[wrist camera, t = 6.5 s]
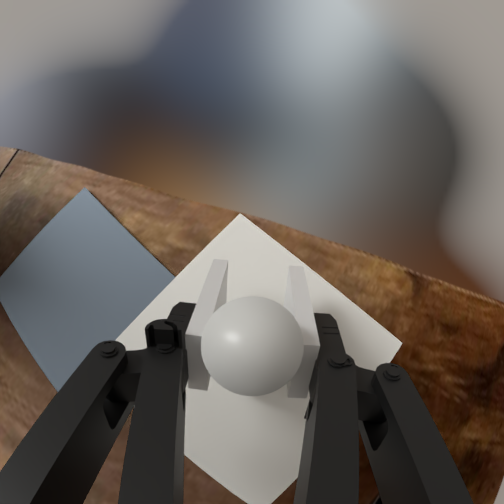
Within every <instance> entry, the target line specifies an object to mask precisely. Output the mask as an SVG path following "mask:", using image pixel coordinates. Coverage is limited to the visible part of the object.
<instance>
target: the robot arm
mask: <svg viewBox="0 0 504 504" xmlns="http://www.w3.org/2000/svg"><path fill="white" fill-rule="evenodd" d="M227 277H228V260H220V259H214V260H213V262H212V265H211V267H210V270H209V272H208V275H207V278H206V280H205V283H204V285H203V288H202V291H201V293H200V296H199V298H198V301H197V304H196V303H187V302H179V303H178V304H176V305H175V306H174V307H173V308H172V310H171V312H170V314H169V316H168V318H167V319H158V320H154V321H152V322H150V323H149V324H147V325H146V327H145V336H146V343H147V348H145V349H141V350H129V351H126V348H125V346H124V345H123V344H122V343H120V342H118V341H113V340H108V341H103V342H100V343H98V344H97V345H96V346H95V347H94V348H93V349H92V350H91V351H90V352H89V354H88V355H87V356H86V357H85V359H84V360H83V361H82V362H81V364H80V365H79V366H78V367H77V369H76V370H75V371H74V372H73V374H72V375H71V376H70V377H69V379H68V380H67V381H66V383H65V384H64V385H63V386H62V388H61V389H60V390H59V392H58V393H57V394H56V395H55V397H54V398H53V399H52V401H51V402H50V403H49V405H48V406H47V407H46V409H45V410H44V411H43V413H42V414H41V415H40V417H39V418H38V419H37V421H36V422H35V423H34V425H33V426H32V428H31V429H30V430H29V432H28V433H27V434H26V436H25V437H24V439H23V440H22V441H21V443H20V444H19V446H18V447H17V448H16V450H15V451H14V453H13V454H12V456H11V457H10V458H9V460H8V461H7V463H6V464H5V466H4V467H3V469H2V470H1V472H0V504H83V502H84V500H85V498H86V496H87V494H88V492H89V491H90V489H91V487H92V485H93V483H94V481H95V479H96V477H97V475H98V473H99V471H100V469H101V467H102V465H103V463H104V461H105V459H106V457H107V456H108V454H109V452H110V450H111V448H112V446H113V444H114V442H115V440H116V438H117V437H118V435H119V433H120V431H121V429H122V427H123V425H124V423H125V422H126V420H127V418H128V416H129V414H130V412H131V410H132V408H133V407H134V409H133V414H132V419H131V424H130V430H129V435H128V441H127V447H126V453H125V459H124V465H123V472H122V478H121V485H120V493H119V500H118V504H183V479H184V437H185V411H186V385H187V382H188V388H190V389H197V390H205V391H208V386H209V381H210V377H211V375H210V374H209V372H208V370H207V369H206V367H205V364H204V362H203V358H202V353H201V339H202V334H203V331H204V328H205V326H206V323H207V322H208V320H209V318H210V317H211V316H212V315H213V313H214V312H215V311H216V310H217V309H218V308H220V307H221V306H222V305H224V304H225V303H226V300H227ZM284 307H285V308H286V309H287V310H288V311H289V312H290V313H291V314H292V315H293V316H294V318H295V319H296V321H297V322H298V324H299V326H300V329H301V332H302V335H303V341H304V351H303V357H302V361H301V364H300V366H299V368H298V370H297V372H296V374H295V375H294V376H293V378H292V379H291V380H290V381H289V382H288V383H287V397H288V398H307V395H308V391H309V394H310V399H309V403H308V406H307V410H306V413H305V416H304V419H306V422H305V430H304V438H303V445H302V452H301V459H300V466H299V473H298V479H297V485H296V491H295V497H294V503H293V504H358V498H359V431H360V434H361V437H362V440H363V443H364V446H365V449H366V452H367V455H368V458H369V462H370V465H371V468H372V471H373V474H374V477H375V481H376V484H377V487H378V490H379V494H380V497H381V500H382V504H473V501H472V499H471V497H470V495H469V492H468V490H467V488H466V486H465V484H464V481H463V479H462V477H461V475H460V473H459V471H458V469H457V467H456V465H455V462H454V460H453V458H452V456H451V454H450V452H449V450H448V448H447V446H446V444H445V442H444V440H443V438H442V436H441V434H440V432H439V430H438V429H437V427H436V425H435V423H434V421H433V419H432V417H431V415H430V413H429V411H428V410H427V408H426V406H425V404H424V402H423V400H422V398H421V397H420V395H419V393H418V391H417V389H416V388H415V386H414V384H413V382H412V380H411V379H410V377H409V375H408V373H407V372H406V371H405V370H404V368H402V367H400V366H399V365H396V364H393V363H384V364H380V365H379V366H378V367H377V368H376V371H373V370H369V369H364V368H361V367H358V366H357V365H355V362H354V360H353V358H352V357H351V356H349V355H348V354H346V352H345V348H344V345H343V341H342V338H341V335H340V331H339V329H338V324H337V321H336V320H335V319H334V317H333V316H332V315H331V314H326V313H313V308H312V304H311V299H310V294H309V290H308V285H307V281H306V276H305V272H304V267H302V266H290V265H289V268H288V276H287V284H286V291H285V298H284Z"/></svg>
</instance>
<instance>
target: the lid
mask: <svg viewBox="0 0 504 504" xmlns="http://www.w3.org/2000/svg"><path fill="white" fill-rule="evenodd" d="M214 259H220V260H228V277H227V300H226V303H225V304H224V305H222V306H221V307H220V308H218V309H217V310H216V311H215V312H214V313H213V315H212V316H211V317H210V318H209V320H208V322H207V323H206V326H205V328H204V331H203V334H202V339H201V353H202V358H203V362H204V364H205V367H206V369H207V370H208V372H209V374H210V375H211V377H210V381H209V386H208V391H205V390H197V389H190V388H188V382H187V385H186V411H185V437H184V455H185V456H187V457H188V458H189V459H190V460H191V461H193V462H194V463H195V464H196V465H197V466H199V467H200V468H201V469H202V470H203V471H205V472H206V473H207V474H208V475H210V476H211V477H212V478H214V479H215V480H216V481H217V482H219V483H220V484H221V485H223V486H224V487H225V488H227V489H228V490H229V491H231V492H232V493H233V494H235V495H236V496H238V497H239V498H240V499H242V500H243V501H245V502H246V503H248V504H271V503H272V502H273V501H274V500H275V499H276V498H277V497H278V496H280V495H281V494H282V493H283V492H284V491H285V490H286V489H287V488H288V487H289V486H290V485H291V484H292V483H293V482H294V481H295V480H296V479H297V478H298V473H299V466H300V459H301V452H302V445H303V438H304V430H305V422H306V419H304V416H305V413H306V410H307V406H308V403H309V399H310V394H309V391H308V395H307V398H288V397H287V383H288V382H289V381H290V380H291V379H292V378H293V376H294V375H295V374H296V372H297V370H298V368H299V366H300V364H301V361H302V357H303V351H304V341H303V335H302V332H301V329H300V326H299V324H298V322H297V321H296V319H295V318H294V316H293V315H292V314H291V313H290V312H289V311H288V310H287V309H286V308H285V307H284V298H285V291H286V284H287V276H288V268H289V265H290V266H302V267H304V272H305V276H306V281H307V285H308V290H309V294H310V299H311V304H312V308H313V313H326V314H331V315H332V316H333V317H334V319H335V320H336V321H337V324H338V329H339V331H340V335H341V338H342V341H343V345H344V348H345V352H346V354H348V355H349V356H351V357H352V358H353V360H354V362H355V365H357V366H358V367H361V368H364V369H369V370H373V371H376V368H377V367H378V366H379V365H380V364H384V363H390V362H391V360H392V359H393V357H394V356H395V354H396V353H397V351H398V350H399V348H400V346H401V345H402V342H401V341H399V340H398V339H397V338H396V337H394V336H393V335H392V334H391V333H390V332H388V331H387V330H386V329H385V328H384V327H382V326H381V325H380V324H379V323H377V322H376V321H375V320H374V319H373V318H371V317H370V316H369V315H368V314H366V313H365V312H364V311H363V310H362V309H360V308H359V307H358V306H357V305H355V304H354V303H353V302H352V301H350V300H349V299H348V298H347V297H346V296H344V295H343V294H342V293H341V292H339V291H338V290H337V289H336V288H334V287H333V286H332V285H331V284H329V283H328V282H327V281H326V280H324V279H323V278H322V277H321V276H319V275H318V274H317V273H316V272H314V271H313V270H312V269H311V268H309V267H308V266H307V265H306V264H304V263H303V262H302V261H300V260H299V259H298V258H297V257H295V256H294V255H293V254H292V253H290V252H289V251H288V250H287V249H285V248H284V247H283V246H281V245H280V244H279V243H278V242H276V241H275V240H274V239H273V238H271V237H270V236H269V235H267V234H266V233H265V232H264V231H262V230H261V229H260V228H258V227H257V226H256V225H255V224H253V223H252V222H251V221H249V220H248V219H247V218H246V217H244V216H243V215H242V214H239V215H238V216H237V217H236V218H235V219H234V220H233V221H232V222H231V223H230V224H229V225H228V226H227V227H226V228H225V229H224V230H222V231H221V232H220V233H219V234H218V235H217V236H216V237H215V238H214V239H213V240H212V241H211V242H210V243H209V244H208V245H207V246H206V247H205V248H204V249H203V250H202V251H201V252H200V253H199V254H198V255H197V256H196V257H195V258H194V259H193V260H192V261H191V262H190V263H189V264H188V265H187V266H186V267H185V268H184V269H183V270H182V271H181V272H180V273H179V274H178V275H177V276H176V277H175V278H174V279H173V280H172V282H171V283H170V284H169V285H168V286H167V287H166V288H165V289H164V290H163V291H162V292H161V293H160V294H159V295H158V296H157V297H156V298H155V299H154V300H153V301H152V302H151V303H150V304H149V305H148V306H147V307H146V308H145V309H144V310H143V311H142V312H141V313H140V314H139V316H138V317H137V318H136V319H135V320H134V321H133V322H132V323H131V324H130V325H129V326H128V327H127V328H126V329H125V330H124V331H123V332H122V333H121V334H120V336H119V337H118V338H117V339H116V340H115V341H118V342H120V343H122V344H123V345H124V346H125V348H126V351H129V350H141V349H145V348H147V343H146V336H145V327H146V325H147V324H149V323H150V322H152V321H154V320H158V319H167V318H168V316H169V314H170V312H171V310H172V308H173V307H174V306H175V305H176V304H178V303H179V302H187V303H196V304H197V301H198V298H199V296H200V293H201V291H202V288H203V285H204V283H205V280H206V278H207V275H208V272H209V270H210V267H211V265H212V262H213V260H214Z"/></svg>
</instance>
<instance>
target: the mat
mask: <svg viewBox="0 0 504 504" xmlns="http://www.w3.org/2000/svg"><path fill="white" fill-rule="evenodd" d="M174 278H175V276H173V275H172V274H171V273H170V272H169V271H168V270H167V269H166V268H165V267H164V266H163V265H162V264H161V263H160V262H159V261H158V260H157V259H156V258H154V257H153V256H152V255H151V254H150V253H149V252H148V251H147V250H146V249H145V248H144V247H143V246H142V245H141V244H140V243H139V242H138V241H137V240H136V239H135V238H134V237H133V236H132V235H131V234H130V233H129V232H128V231H127V230H126V229H125V228H124V227H123V226H122V225H121V224H120V223H119V222H118V221H117V220H116V219H115V218H114V217H113V216H112V215H111V214H110V213H109V212H108V211H107V210H106V209H105V208H104V207H103V206H102V205H101V204H100V203H99V202H98V200H97V199H96V198H95V197H94V196H93V195H92V194H91V193H90V192H89V191H88V190H87V189H86V188H84V189H82V190H81V191H80V192H79V193H78V194H77V195H76V196H75V197H74V198H73V199H72V200H71V201H70V202H69V203H68V204H67V205H66V206H65V207H64V208H63V209H62V210H61V211H60V212H59V213H58V214H57V215H56V216H55V217H54V218H53V219H52V220H51V221H50V222H49V223H48V224H47V225H46V226H45V227H44V228H43V229H42V230H41V231H40V232H39V233H38V234H37V236H36V237H35V238H34V239H33V240H32V241H31V242H30V243H29V244H28V245H27V247H26V248H25V249H24V250H23V251H22V252H21V253H20V254H19V256H18V257H17V258H16V259H15V260H14V261H13V263H12V264H11V265H10V266H9V267H8V269H7V270H6V271H5V272H4V273H3V275H2V276H1V277H0V302H1V304H2V305H3V307H4V309H5V311H6V313H7V315H8V316H9V318H10V320H11V322H12V323H13V325H14V327H15V329H16V330H17V332H18V334H19V335H20V337H21V339H22V340H23V342H24V344H25V345H26V347H27V348H28V350H29V351H30V353H31V354H32V356H33V358H34V359H35V361H36V362H37V364H38V365H39V366H40V368H41V369H42V371H43V372H44V374H45V375H46V377H47V378H48V379H49V381H50V382H51V383H52V385H53V386H54V388H55V389H56V390H57V392H59V390H60V389H61V388H62V386H63V385H64V384H65V383H66V381H67V380H68V379H69V377H70V376H71V375H72V374H73V372H74V371H75V370H76V369H77V367H78V366H79V365H80V364H81V362H82V361H83V360H84V359H85V357H86V356H87V355H88V354H89V352H90V351H91V350H92V349H93V348H94V347H95V346H96V345H97V344H98V343H100V342H103V341H108V340H113V341H115V340H116V339H117V338H118V337H119V336H120V334H121V333H122V332H123V331H124V330H125V329H126V328H127V327H128V326H129V325H130V324H131V323H132V322H133V321H134V320H135V319H136V318H137V317H138V316H139V314H140V313H141V312H142V311H143V310H144V309H145V308H146V307H147V306H148V305H149V304H150V303H151V302H152V301H153V300H154V299H155V298H156V297H157V296H158V295H159V294H160V293H161V292H162V291H163V290H164V289H165V288H166V287H167V286H168V285H169V284H170V283H171V282H172V280H173V279H174Z"/></svg>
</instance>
